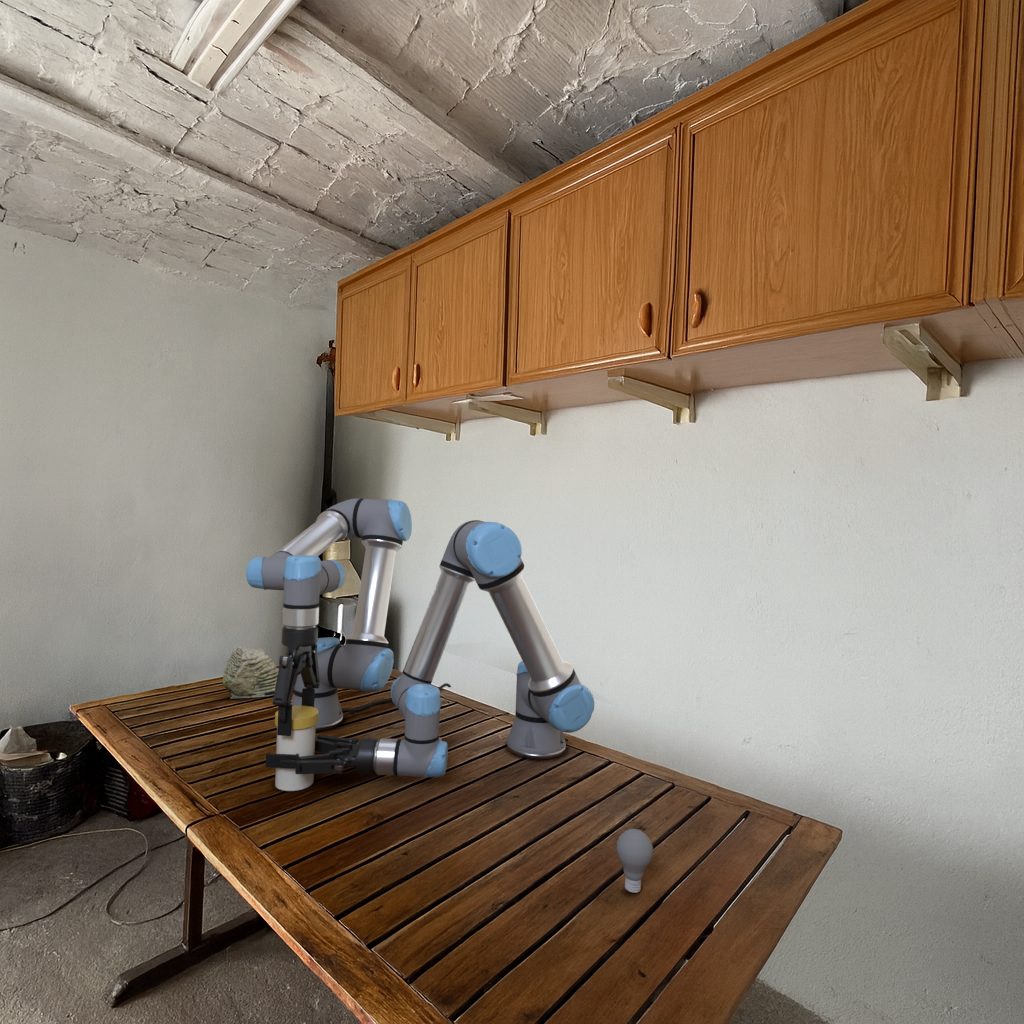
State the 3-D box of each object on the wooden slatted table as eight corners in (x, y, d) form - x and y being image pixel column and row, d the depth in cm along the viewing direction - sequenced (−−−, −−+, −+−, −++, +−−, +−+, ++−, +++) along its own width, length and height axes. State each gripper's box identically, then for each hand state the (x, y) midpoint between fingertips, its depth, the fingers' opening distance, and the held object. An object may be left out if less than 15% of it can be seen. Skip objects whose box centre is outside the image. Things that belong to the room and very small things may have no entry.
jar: (299, 771, 145) (302, 705, 145) (321, 782, 140) (323, 714, 140) (267, 782, 139) (270, 714, 139) (288, 794, 134) (291, 723, 134)
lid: (302, 712, 146) (303, 703, 146) (326, 722, 140) (326, 712, 140) (266, 722, 139) (266, 712, 139) (290, 733, 133) (290, 722, 133)
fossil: (218, 695, 195) (220, 647, 195) (278, 685, 208) (279, 640, 207) (228, 703, 189) (230, 653, 188) (289, 692, 201) (290, 645, 201)
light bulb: (610, 879, 108) (613, 822, 108) (644, 879, 109) (647, 822, 109) (619, 902, 102) (622, 840, 102) (655, 901, 103) (658, 840, 103)
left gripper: (306, 615, 151) (303, 707, 151) (257, 635, 128) (252, 743, 128) (337, 618, 150) (333, 710, 150) (292, 638, 127) (288, 747, 127)
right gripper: (365, 795, 129) (254, 790, 129) (385, 754, 150) (290, 750, 150) (366, 759, 129) (255, 754, 129) (387, 722, 150) (291, 718, 150)
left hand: (296, 725), depth 139 cm, fingers open, 11 cm apart
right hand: (274, 752), depth 140 cm, fingers closed on jar, 8 cm apart
